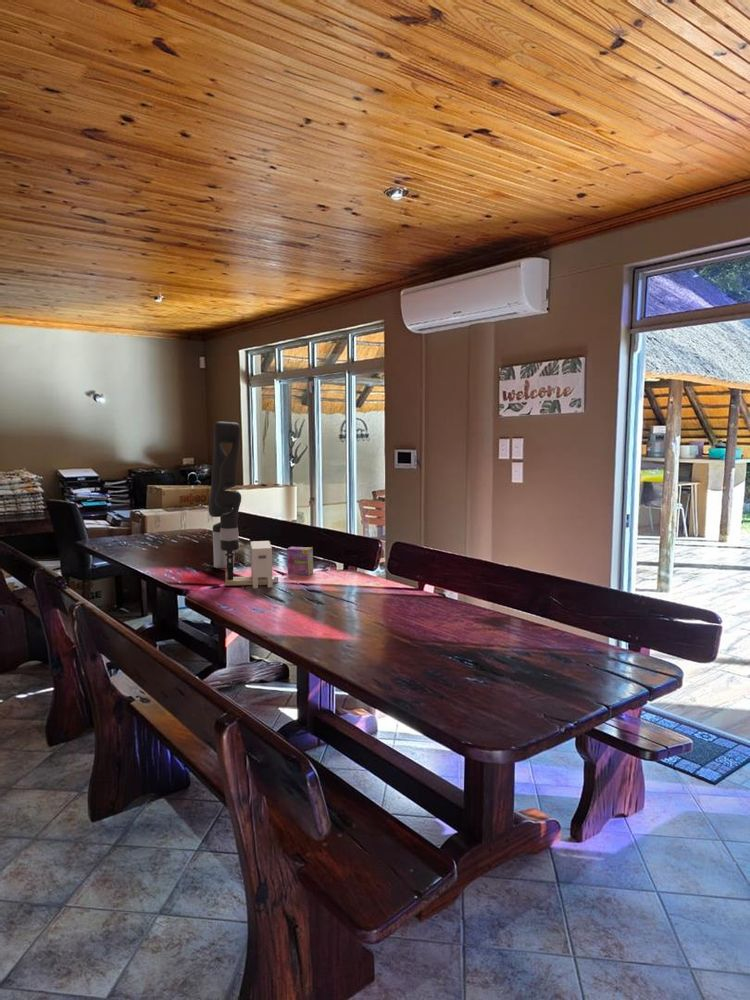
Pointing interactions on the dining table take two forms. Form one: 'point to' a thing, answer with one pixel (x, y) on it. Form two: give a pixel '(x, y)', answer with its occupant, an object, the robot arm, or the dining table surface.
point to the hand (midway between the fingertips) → (230, 578)
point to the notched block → (261, 562)
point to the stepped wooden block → (243, 579)
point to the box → (300, 560)
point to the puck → (275, 580)
